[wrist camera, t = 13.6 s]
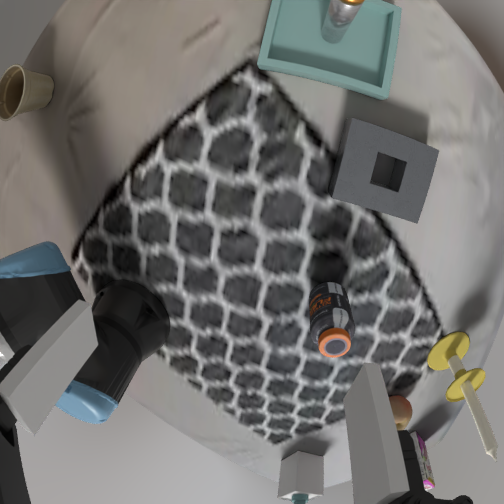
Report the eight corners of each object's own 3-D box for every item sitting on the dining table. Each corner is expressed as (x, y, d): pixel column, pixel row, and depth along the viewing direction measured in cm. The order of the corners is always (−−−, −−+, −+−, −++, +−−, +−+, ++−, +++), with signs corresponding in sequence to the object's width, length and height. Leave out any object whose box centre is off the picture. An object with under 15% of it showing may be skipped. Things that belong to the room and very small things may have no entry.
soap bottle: (324, 456, 64) (323, 515, 46) (305, 466, 67) (302, 521, 50) (298, 450, 63) (294, 512, 46) (280, 460, 67) (274, 517, 49)
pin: (319, 40, 29) (333, -4, 16) (322, 23, 27) (337, -26, 15) (340, 46, 29) (366, 5, 16) (344, 28, 27) (369, -17, 15)
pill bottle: (323, 273, 42) (331, 320, 32) (354, 292, 43) (369, 340, 32) (301, 302, 44) (301, 352, 34) (331, 319, 45) (338, 369, 35)
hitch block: (327, 191, 37) (331, 198, 34) (345, 118, 33) (352, 117, 29) (406, 214, 37) (417, 223, 33) (426, 147, 33) (439, 150, 29)
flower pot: (22, 105, 36) (-11, 108, 28) (42, 60, 33) (8, 57, 25) (46, 125, 38) (11, 130, 30) (68, 77, 34) (32, 74, 26)
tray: (259, 69, 32) (257, 64, 29) (279, -16, 26) (278, -25, 23) (380, 100, 31) (387, 98, 29) (394, 15, 26) (401, 8, 23)
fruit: (413, 397, 51) (421, 424, 44) (384, 414, 54) (390, 442, 47) (397, 384, 50) (405, 413, 42) (366, 403, 53) (371, 433, 45)
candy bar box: (425, 441, 59) (435, 486, 44) (410, 448, 61) (418, 493, 46) (416, 429, 56) (428, 479, 41) (399, 437, 58) (408, 487, 43)
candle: (419, 354, 46) (461, 475, 22) (460, 322, 42) (522, 435, 18) (437, 376, 48) (473, 482, 23) (474, 347, 44) (524, 448, 20)
